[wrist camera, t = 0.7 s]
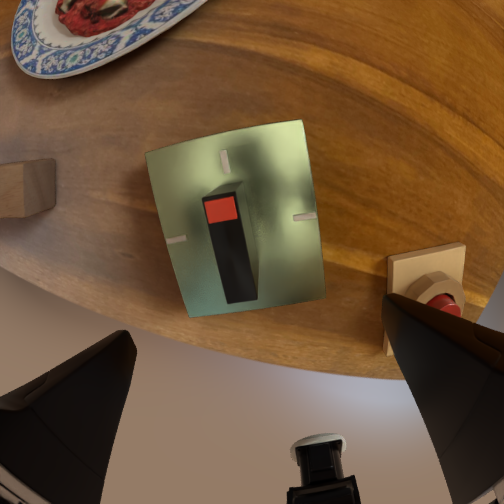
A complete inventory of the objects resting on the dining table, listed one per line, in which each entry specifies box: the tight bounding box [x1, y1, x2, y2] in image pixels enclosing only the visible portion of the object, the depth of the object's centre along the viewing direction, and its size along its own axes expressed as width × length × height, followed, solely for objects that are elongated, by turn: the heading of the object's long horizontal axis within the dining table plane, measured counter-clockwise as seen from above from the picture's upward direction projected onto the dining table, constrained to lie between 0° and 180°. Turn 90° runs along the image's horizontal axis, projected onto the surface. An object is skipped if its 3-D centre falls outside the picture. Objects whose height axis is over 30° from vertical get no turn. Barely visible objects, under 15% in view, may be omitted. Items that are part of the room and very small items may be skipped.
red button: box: [426, 294, 461, 318], centre depth 19 cm, size 4×4×2 cm
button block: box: [383, 242, 466, 356], centre depth 20 cm, size 10×8×3 cm
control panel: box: [145, 119, 326, 318], centre depth 19 cm, size 12×10×3 cm
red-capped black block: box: [202, 182, 259, 304], centre depth 15 cm, size 6×2×5 cm, turn 11°
